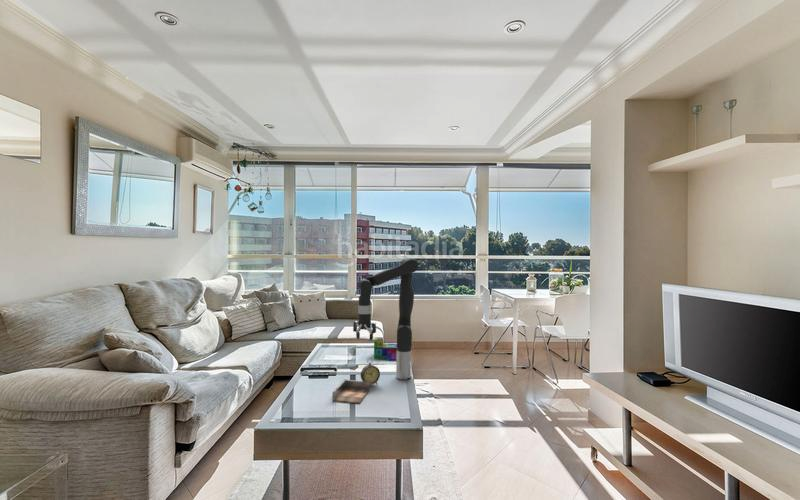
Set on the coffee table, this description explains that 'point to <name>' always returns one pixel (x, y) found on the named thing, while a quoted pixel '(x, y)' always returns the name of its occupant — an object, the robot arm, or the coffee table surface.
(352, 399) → the walnut plate
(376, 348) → the block puzzle
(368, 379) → the alarm clock
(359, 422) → the coffee table surface
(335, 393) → the corner walls
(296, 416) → the coffee table surface
